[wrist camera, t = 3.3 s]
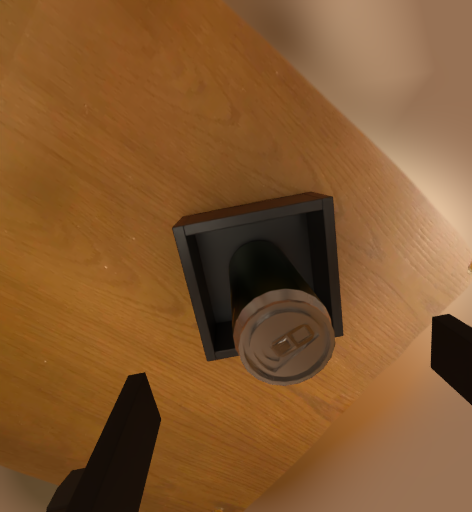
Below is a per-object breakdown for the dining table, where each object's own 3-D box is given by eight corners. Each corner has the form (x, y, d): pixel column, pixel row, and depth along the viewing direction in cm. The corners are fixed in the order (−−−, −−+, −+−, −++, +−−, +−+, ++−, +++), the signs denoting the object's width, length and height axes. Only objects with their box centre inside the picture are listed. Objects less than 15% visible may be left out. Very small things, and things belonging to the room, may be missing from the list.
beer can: (265, 226, 24) (304, 276, 12) (297, 272, 25) (358, 353, 14) (216, 261, 25) (212, 337, 13) (250, 303, 26) (272, 405, 15)
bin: (311, 191, 24) (333, 196, 19) (322, 307, 27) (343, 336, 22) (182, 216, 24) (171, 227, 19) (209, 328, 27) (207, 361, 23)
